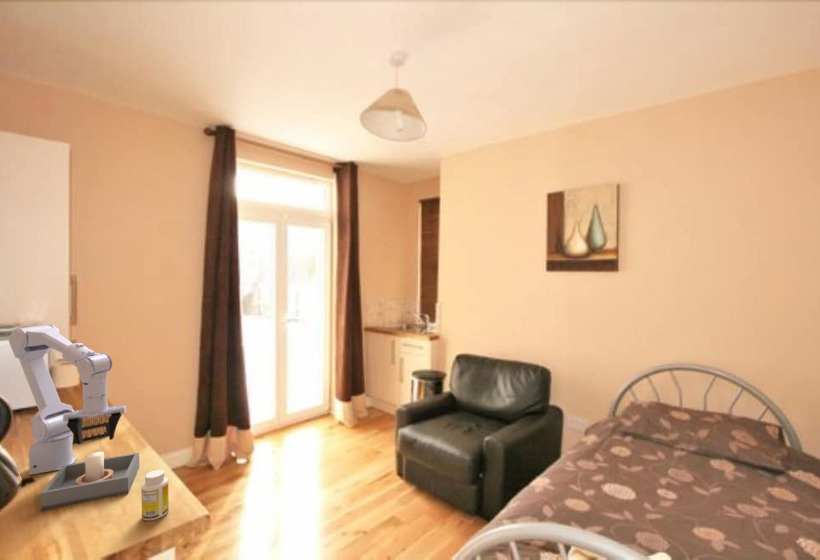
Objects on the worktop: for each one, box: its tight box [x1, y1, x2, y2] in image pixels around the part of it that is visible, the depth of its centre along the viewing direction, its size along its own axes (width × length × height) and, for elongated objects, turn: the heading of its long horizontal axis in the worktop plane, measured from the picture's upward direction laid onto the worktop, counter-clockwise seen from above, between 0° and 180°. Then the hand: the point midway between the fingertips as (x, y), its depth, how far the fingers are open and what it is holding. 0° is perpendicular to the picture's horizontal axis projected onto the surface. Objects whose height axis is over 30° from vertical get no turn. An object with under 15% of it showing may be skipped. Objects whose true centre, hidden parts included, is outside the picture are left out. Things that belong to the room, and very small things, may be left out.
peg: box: [84, 451, 105, 482], centre depth 108 cm, size 4×4×8 cm
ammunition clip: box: [72, 403, 111, 445], centre depth 140 cm, size 11×2×12 cm, turn 132°
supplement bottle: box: [140, 469, 170, 521], centre depth 96 cm, size 6×6×10 cm
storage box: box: [39, 452, 140, 512], centre depth 108 cm, size 18×16×4 cm
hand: (96, 440), depth 116 cm, fingers open, 7 cm apart
